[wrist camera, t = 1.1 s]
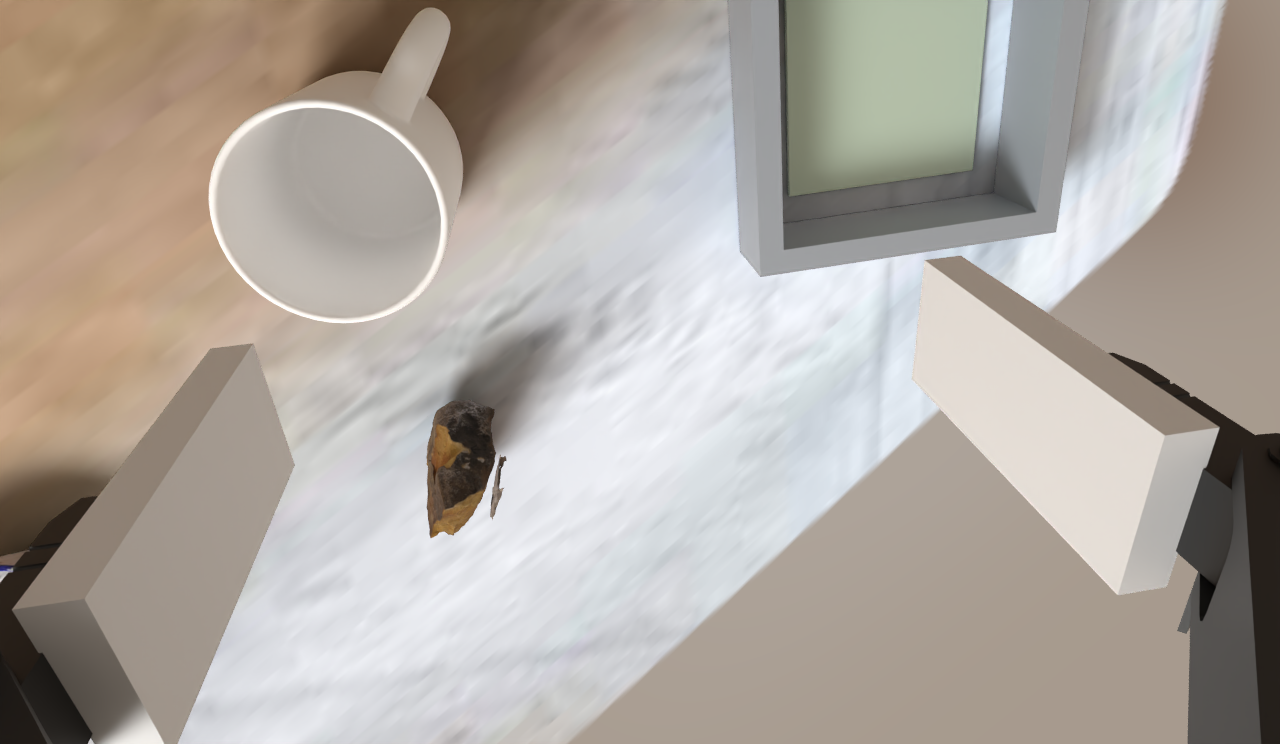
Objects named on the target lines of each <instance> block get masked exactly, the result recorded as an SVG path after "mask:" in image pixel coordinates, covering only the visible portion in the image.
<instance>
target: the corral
mask: <svg viewBox="0 0 1280 744" xmlns="http://www.w3.org/2000/svg"><path fill="white" fill-rule="evenodd" d="M1089 1H1090V0H1014V1H1013V11H1012V20H1011V30H1010V40H1009V49H1008V59H1007V68H1006V78H1005V87H1004V97H1003V107H1002V116H1001V126H1000V135H999V145H998V154H997V164H996V174H995V183H994V193H989V194H982V195H975V196H969V197H962V198H955V199H948V200H941V201H935V202H928V203H921V204H914V205H907V206H900V207H894V208H887V209H880V210H873V211H866V212H859V213H853V214H846V215H839V216H832V217H825V218H819V219H812V220H805V221H798V222H791V223H784V224H783V195H782V148H781V100H780V53H779V6H778V0H728V13H729V34H730V54H731V75H732V96H733V117H734V137H735V158H736V179H737V200H738V221H739V241H740V252H741V254H742V255H743V256H744V257H745V258H746V260H747V261H748V262H749V263H750V265H751V266H752V267H753V268H754V270H755V271H756V272H757V273H758V274H759V276H760V277H763V276H770V275H776V274H783V273H790V272H796V271H803V270H809V269H816V268H823V267H829V266H836V265H842V264H849V263H856V262H862V261H869V260H875V259H882V258H889V257H895V256H902V255H908V254H915V253H922V252H928V251H935V250H941V249H948V248H955V247H961V246H968V245H974V244H981V243H988V242H994V241H1001V240H1007V239H1014V238H1021V237H1027V236H1034V235H1040V234H1047V233H1054V232H1056V228H1057V222H1058V215H1059V208H1060V201H1061V194H1062V187H1063V180H1064V173H1065V166H1066V160H1067V153H1068V146H1069V139H1070V132H1071V125H1072V118H1073V111H1074V104H1075V97H1076V91H1077V84H1078V77H1079V70H1080V63H1081V56H1082V49H1083V42H1084V35H1085V29H1086V22H1087V15H1088V8H1089ZM987 6H988V0H784V8H785V63H786V119H787V174H788V196H797V195H804V194H811V193H818V192H825V191H832V190H839V189H846V188H853V187H860V186H867V185H874V184H881V183H888V182H895V181H902V180H908V179H915V178H922V177H929V176H936V175H943V174H950V173H957V172H964V171H971V170H973V160H974V149H975V138H976V127H977V116H978V105H979V94H980V83H981V72H982V61H983V50H984V39H985V28H986V17H987Z"/></svg>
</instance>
